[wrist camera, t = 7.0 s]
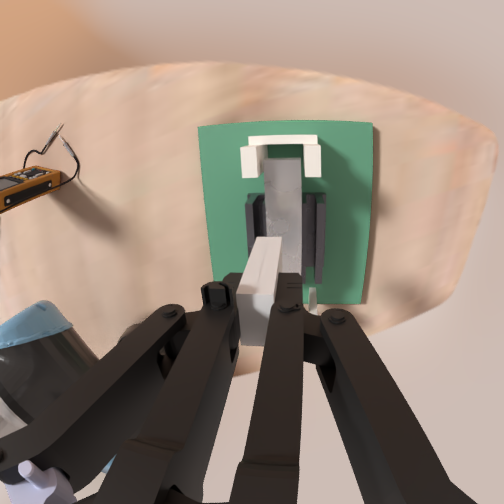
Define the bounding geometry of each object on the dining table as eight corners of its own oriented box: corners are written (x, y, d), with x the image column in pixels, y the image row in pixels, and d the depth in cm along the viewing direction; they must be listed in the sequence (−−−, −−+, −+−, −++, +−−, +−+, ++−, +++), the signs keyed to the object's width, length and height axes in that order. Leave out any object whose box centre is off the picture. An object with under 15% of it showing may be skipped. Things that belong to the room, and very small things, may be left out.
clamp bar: (304, 320, 30) (303, 332, 28) (267, 319, 31) (264, 331, 29) (306, 157, 23) (307, 160, 21) (259, 158, 24) (255, 161, 22)
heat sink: (323, 262, 32) (326, 284, 27) (253, 261, 33) (245, 282, 29) (325, 192, 29) (329, 203, 24) (248, 192, 30) (239, 204, 26)
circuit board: (358, 298, 34) (371, 345, 26) (218, 295, 37) (197, 339, 29) (369, 123, 26) (396, 120, 18) (201, 126, 29) (165, 126, 21)
